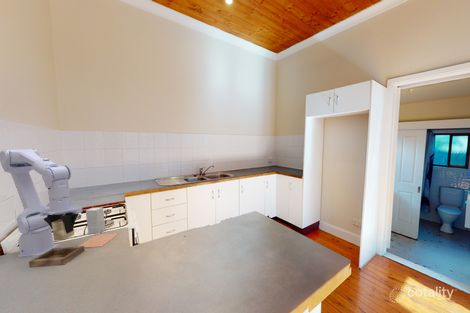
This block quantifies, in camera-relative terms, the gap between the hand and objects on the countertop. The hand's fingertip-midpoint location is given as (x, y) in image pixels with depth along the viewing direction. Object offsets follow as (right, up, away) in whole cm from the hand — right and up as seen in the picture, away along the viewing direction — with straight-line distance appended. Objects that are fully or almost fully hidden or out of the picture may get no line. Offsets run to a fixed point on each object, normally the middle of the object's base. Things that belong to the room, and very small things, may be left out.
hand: (64, 232), depth 70 cm
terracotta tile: (+6, -9, +10) cm, 15 cm away
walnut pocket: (0, -10, -2) cm, 10 cm away
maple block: (0, -2, 0) cm, 2 cm away
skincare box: (-3, -9, +21) cm, 23 cm away
